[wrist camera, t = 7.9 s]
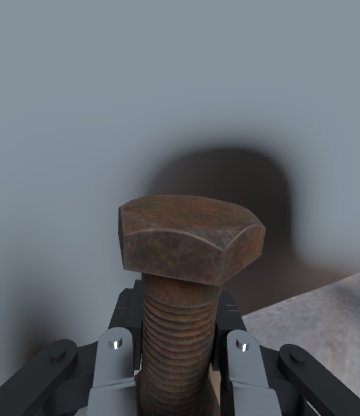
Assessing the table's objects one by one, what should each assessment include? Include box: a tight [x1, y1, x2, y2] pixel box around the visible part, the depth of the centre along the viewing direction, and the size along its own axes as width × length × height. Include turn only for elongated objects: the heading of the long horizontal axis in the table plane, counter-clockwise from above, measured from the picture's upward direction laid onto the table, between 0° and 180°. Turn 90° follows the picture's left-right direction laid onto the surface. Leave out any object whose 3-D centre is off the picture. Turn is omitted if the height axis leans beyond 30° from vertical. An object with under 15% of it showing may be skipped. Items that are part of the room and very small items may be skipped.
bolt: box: [118, 195, 266, 416], centre depth 10 cm, size 6×5×15 cm
